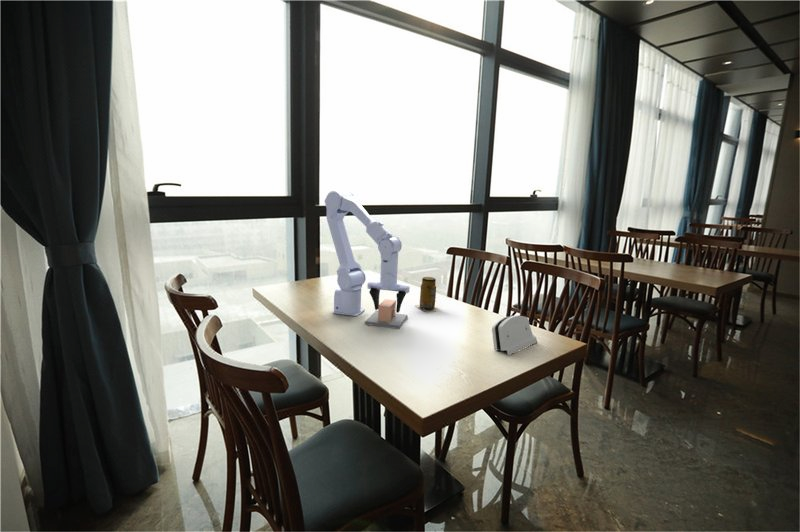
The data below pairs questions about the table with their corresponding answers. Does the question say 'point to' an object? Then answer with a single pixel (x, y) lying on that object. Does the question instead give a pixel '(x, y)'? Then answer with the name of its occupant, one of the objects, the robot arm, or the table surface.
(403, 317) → the plate
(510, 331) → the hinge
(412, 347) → the table surface
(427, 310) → the condiment
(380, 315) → the block
